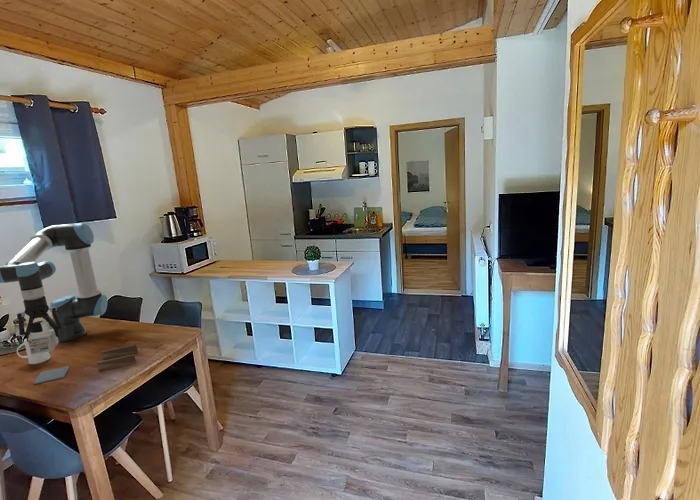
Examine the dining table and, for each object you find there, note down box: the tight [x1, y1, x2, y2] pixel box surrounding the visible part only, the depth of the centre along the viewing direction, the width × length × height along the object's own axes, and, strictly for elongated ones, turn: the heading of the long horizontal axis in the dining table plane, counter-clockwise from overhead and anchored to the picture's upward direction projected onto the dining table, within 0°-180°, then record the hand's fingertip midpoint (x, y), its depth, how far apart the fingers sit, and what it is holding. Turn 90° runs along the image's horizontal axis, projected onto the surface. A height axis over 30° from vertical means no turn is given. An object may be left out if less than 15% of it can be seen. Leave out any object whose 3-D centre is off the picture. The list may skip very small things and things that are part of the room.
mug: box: [16, 338, 51, 365], centre depth 185 cm, size 12×8×12 cm
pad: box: [33, 365, 71, 386], centre depth 170 cm, size 11×11×1 cm
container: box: [28, 320, 58, 355], centre depth 165 cm, size 8×8×13 cm
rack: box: [96, 343, 139, 372], centre depth 181 cm, size 14×15×4 cm
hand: (45, 345), depth 167 cm, fingers closed on container, 8 cm apart
